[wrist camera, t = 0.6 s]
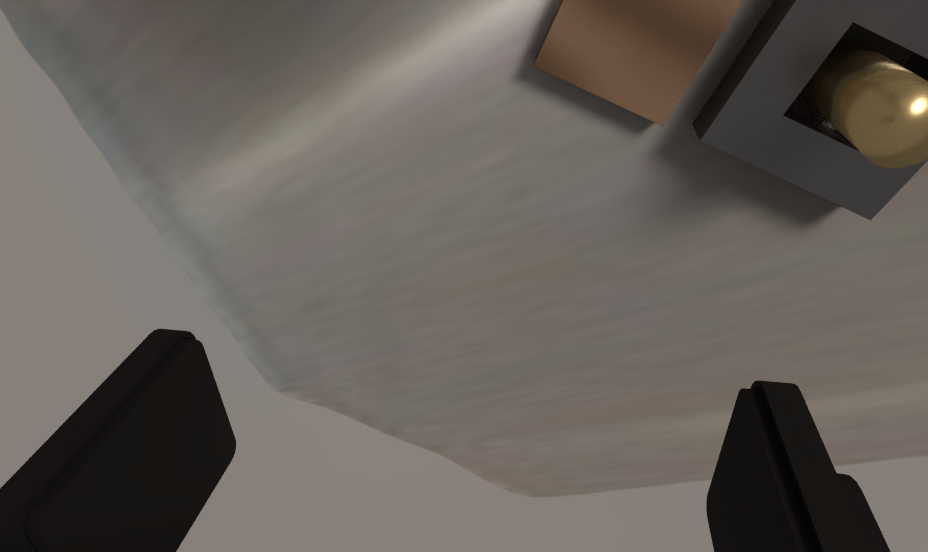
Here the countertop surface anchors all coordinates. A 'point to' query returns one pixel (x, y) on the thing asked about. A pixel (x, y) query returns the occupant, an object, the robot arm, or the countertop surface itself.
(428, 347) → the countertop surface
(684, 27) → the board
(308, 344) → the countertop surface
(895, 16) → the grey square frame
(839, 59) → the key peg
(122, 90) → the countertop surface
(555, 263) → the countertop surface
